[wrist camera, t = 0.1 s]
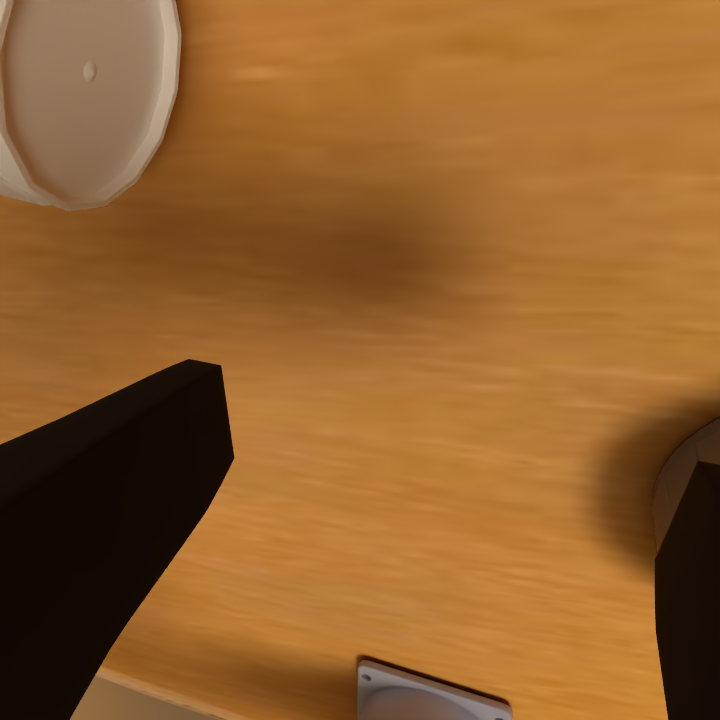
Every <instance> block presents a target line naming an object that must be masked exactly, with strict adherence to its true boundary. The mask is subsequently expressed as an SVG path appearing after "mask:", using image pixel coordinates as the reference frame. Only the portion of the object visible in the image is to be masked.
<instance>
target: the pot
mask: <svg viewBox="0 0 720 720" xmlns="http://www.w3.org/2000/svg"><path fill="white" fill-rule="evenodd" d="M697 461H703V462H708V463H713V464H718V465H720V418H718V419H716V420H715V421H713V422H711V423H710V424H708V425H706V426H705V427H703V428H701V429H700V430H698V431H697V432H696V433H695V434H693V435H692V436H691V437H689V438H688V439H687V440H686V441H684V442H683V443H682V444H681V445H680V446H679V447H678V449H677V450H676V451H675V452H674V453H673V454H672V455H671V456H670V458H669V459H668V461H667V462H666V463H665V465H664V466H663V468H662V470H661V472H660V474H659V476H658V478H657V480H656V484H655V487H654V490H653V496H652V515H653V526H654V537H655V545H656V554H657V553H658V551H659V549H660V546H661V544H662V542H663V540H664V537H665V535H666V533H667V530H668V528H669V526H670V523H671V521H672V519H673V517H674V514H675V512H676V510H677V507H678V505H679V503H680V500H681V498H682V496H683V493H684V491H685V489H686V487H687V484H688V482H689V480H690V477H691V475H692V473H693V470H694V468H695V466H696V463H697Z"/></svg>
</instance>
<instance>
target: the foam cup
mask: <svg viewBox="0 0 720 720" xmlns="http://www.w3.org/2000/svg"><path fill="white" fill-rule="evenodd" d="M181 38H182V35H181V29H180V23H179V17H178V11H177V6H176V0H0V196H5V197H9V198H13V199H17V200H21V201H25V202H29V203H33V204H37V205H41V206H46V205H53V206H55V207H58V208H60V209H63V210H65V211H74V210H82V209H91V208H99V207H105V206H107V205H108V204H109V203H110V202H112V201H113V200H114V199H116V198H117V197H118V196H120V195H121V194H122V193H123V192H125V191H126V190H127V189H129V188H130V187H131V186H132V185H134V184H135V183H136V182H138V180H139V178H140V177H141V175H142V174H143V172H144V170H145V169H146V167H147V166H148V164H149V162H150V161H151V159H152V157H153V156H154V154H155V153H156V151H157V149H158V148H159V146H160V145H161V143H162V141H163V138H164V135H165V131H166V128H167V125H168V122H169V118H170V115H171V112H172V109H173V105H174V102H175V99H176V95H177V92H178V81H179V66H180V52H181Z"/></svg>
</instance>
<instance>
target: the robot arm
mask: <svg viewBox="0 0 720 720" xmlns="http://www.w3.org/2000/svg"><path fill="white" fill-rule="evenodd" d="M233 460H234V452H233V445H232V438H231V431H230V424H229V417H228V410H227V403H226V396H225V389H224V382H223V375H222V368H221V365H216V364H211V363H206V362H201V361H196V360H191V359H188V360H185V361H183V362H180V363H177V364H175V365H173V366H170V367H168V368H166V369H164V370H161V371H159V372H157V373H155V374H153V375H151V376H148V377H146V378H144V379H142V380H140V381H138V382H136V383H134V384H132V385H129V386H127V387H125V388H123V389H121V390H119V391H117V392H115V393H113V394H111V395H109V396H107V397H105V398H102V399H100V400H98V401H96V402H94V403H92V404H90V405H88V406H86V407H84V408H81V409H79V410H77V411H75V412H73V413H71V414H69V415H67V416H65V417H62V418H60V419H58V420H56V421H53V422H51V423H49V424H47V425H44V426H42V427H40V428H37V429H35V430H33V431H31V432H28V433H26V434H24V435H21V436H19V437H17V438H15V439H12V440H10V441H8V442H5V443H3V444H1V445H0V720H70V718H71V716H72V714H73V712H74V711H75V709H76V707H77V706H78V704H79V702H80V700H81V699H82V697H83V695H84V693H85V692H86V690H87V688H88V686H89V685H90V683H91V681H92V679H93V678H94V676H95V674H96V673H97V671H98V669H99V667H100V666H101V664H102V662H103V661H104V659H105V657H106V655H107V654H108V652H109V650H110V649H111V647H112V646H113V644H114V643H115V641H116V639H117V638H118V636H119V635H120V633H121V632H122V630H123V629H124V627H125V626H126V624H127V623H128V621H129V620H130V618H131V617H132V616H133V614H134V613H135V611H136V610H137V609H138V607H139V606H140V604H141V603H142V602H143V600H144V599H145V597H146V596H147V595H148V593H149V592H150V590H151V589H152V588H153V586H154V585H155V583H156V582H157V581H158V579H159V578H160V576H161V575H162V574H163V572H164V571H165V569H166V568H167V567H168V565H169V564H170V562H171V561H172V560H173V558H174V557H175V555H176V554H177V553H178V551H179V550H180V548H181V547H182V545H183V544H184V543H185V541H186V540H187V538H188V537H189V535H190V534H191V533H192V531H193V530H194V528H195V527H196V525H197V524H198V523H199V521H200V520H201V518H202V517H203V515H204V514H205V512H206V511H207V509H208V508H209V506H210V504H211V502H212V500H213V499H214V497H215V495H216V493H217V491H218V489H219V488H220V486H221V484H222V482H223V480H224V478H225V476H226V474H227V472H228V470H229V468H230V466H231V464H232V462H233ZM655 620H656V635H657V643H658V650H659V657H660V664H661V672H662V679H663V686H664V693H665V700H666V706H667V713H668V720H720V465H718V464H713V463H708V462H703V461H697V463H696V466H695V468H694V470H693V473H692V475H691V477H690V480H689V482H688V484H687V487H686V489H685V491H684V493H683V496H682V498H681V500H680V503H679V505H678V507H677V510H676V512H675V514H674V517H673V519H672V521H671V523H670V526H669V528H668V530H667V533H666V535H665V537H664V540H663V542H662V544H661V546H660V549H659V551H658V553H657V556H656V558H655ZM512 713H513V711H512V709H511V707H509V706H508V705H506V704H504V703H501V702H498V701H495V700H491V699H488V698H485V697H482V696H479V695H476V694H473V693H469V692H466V691H463V690H460V689H457V688H454V687H450V686H447V685H444V684H441V683H438V682H435V681H432V680H428V679H425V678H422V677H419V676H416V675H413V674H409V673H406V672H403V671H400V670H397V669H394V668H391V667H387V666H384V665H381V664H378V663H375V662H372V661H368V660H362V661H360V663H359V666H358V685H357V720H512Z"/></svg>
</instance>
